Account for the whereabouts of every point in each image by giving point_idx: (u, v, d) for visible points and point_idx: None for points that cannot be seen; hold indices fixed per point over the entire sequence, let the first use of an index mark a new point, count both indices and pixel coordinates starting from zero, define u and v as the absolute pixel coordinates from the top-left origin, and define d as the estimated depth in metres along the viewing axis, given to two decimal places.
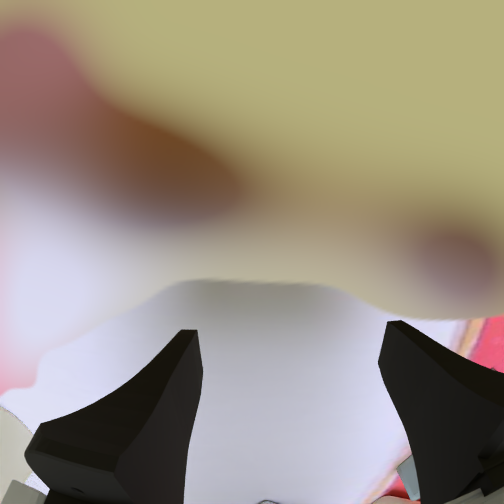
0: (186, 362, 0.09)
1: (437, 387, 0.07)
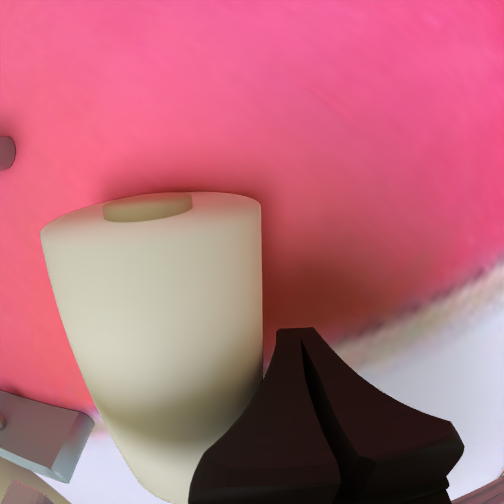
0: None
1: (321, 406, 0.07)
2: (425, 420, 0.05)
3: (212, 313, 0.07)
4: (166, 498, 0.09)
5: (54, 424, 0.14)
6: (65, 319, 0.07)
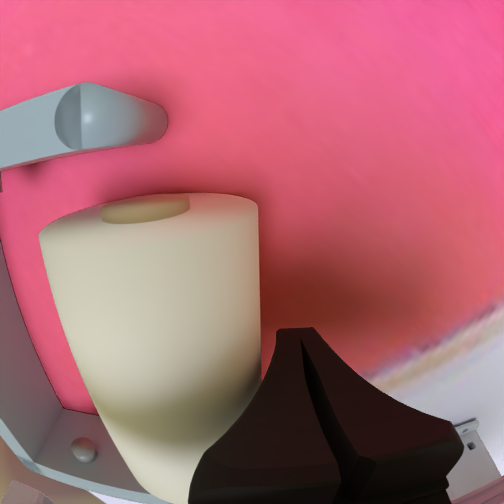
0: None
1: (321, 406, 0.07)
2: (425, 420, 0.05)
3: None
4: None
5: None
6: None
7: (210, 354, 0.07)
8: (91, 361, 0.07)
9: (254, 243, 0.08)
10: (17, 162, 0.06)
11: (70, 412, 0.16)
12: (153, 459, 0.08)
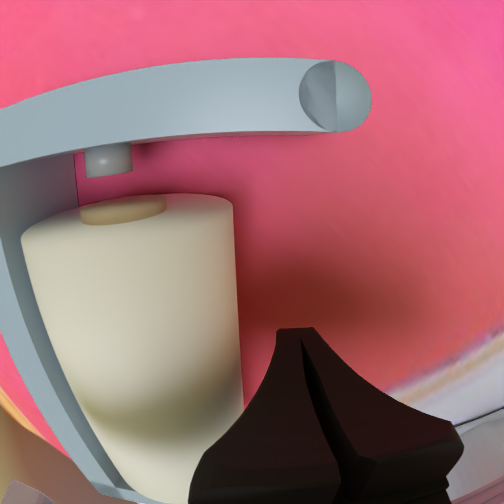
0: None
1: (321, 406, 0.07)
2: (425, 420, 0.05)
3: None
4: None
5: None
6: (225, 296, 0.08)
7: None
8: None
9: (28, 269, 0.07)
10: (232, 130, 0.06)
11: None
12: None
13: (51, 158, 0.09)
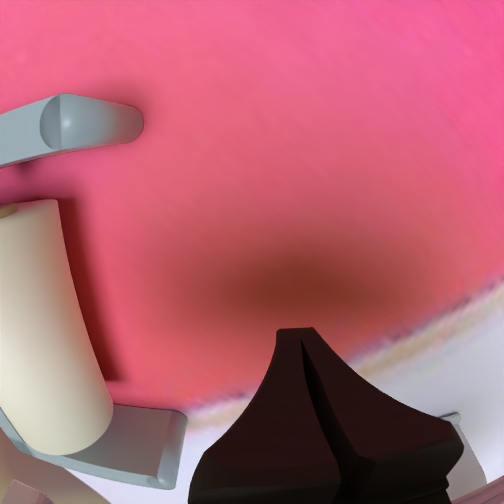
0: None
1: (321, 406, 0.07)
2: (425, 420, 0.05)
3: None
4: (107, 417, 0.13)
5: (146, 427, 0.15)
6: (30, 277, 0.09)
7: None
8: None
9: None
10: (9, 161, 0.07)
11: None
12: None
13: None
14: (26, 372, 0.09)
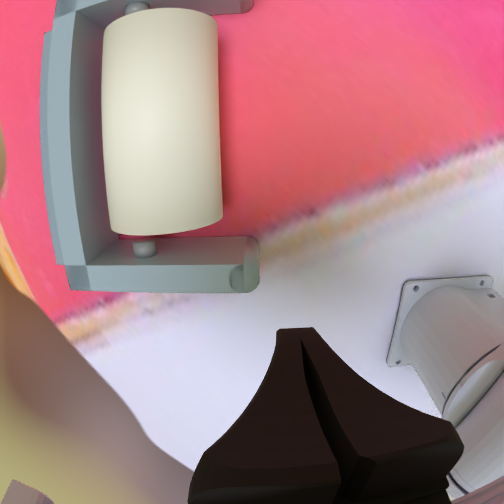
0: None
1: (321, 406, 0.07)
2: (425, 420, 0.05)
3: None
4: None
5: (224, 243, 0.19)
6: (217, 56, 0.14)
7: None
8: None
9: (121, 29, 0.11)
10: None
11: (126, 239, 0.21)
12: None
13: (100, 26, 0.14)
14: (206, 116, 0.14)
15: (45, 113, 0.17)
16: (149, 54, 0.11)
